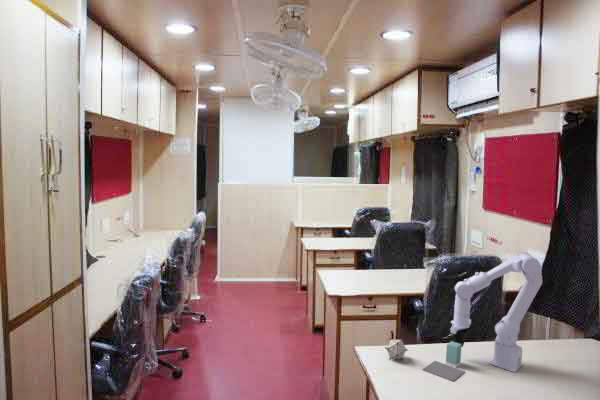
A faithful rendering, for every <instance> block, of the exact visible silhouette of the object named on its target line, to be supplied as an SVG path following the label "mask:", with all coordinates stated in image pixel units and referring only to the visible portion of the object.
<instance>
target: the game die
mask: <svg viewBox="0 0 600 400" xmlns="http://www.w3.org/2000/svg"><path fill="white" fill-rule="evenodd" d="M403 340H404V338H403V337H402V338H401V339H394V338H391V337H389V342H388V343H387V345H386V346H385V347H384V349H386V351H387V353H388V356H389V358H388V360H391V359H396V360H397V359H398V360H399V359H400V360H401V361H402V362H403V361H404V359H403V357H404V356H405V353H406V352H407V351H409V349H407V348H406V346H405V343H404V342H403Z"/></svg>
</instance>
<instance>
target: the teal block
mask: <svg viewBox="0 0 600 400" xmlns="http://www.w3.org/2000/svg"><path fill="white" fill-rule="evenodd" d="M461 345H462V344H459V343H456V341H453V340H451V341H450V342H448V343H447V344H446V354H445V364H446V365H449V366H451V367H454V368H457V367H458V366H460V365H461V361H462V360H461V358H462V347H461Z"/></svg>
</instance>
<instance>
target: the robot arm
mask: <svg viewBox="0 0 600 400" xmlns="http://www.w3.org/2000/svg"><path fill="white" fill-rule="evenodd" d="M542 270H543V267H542V265H541V263H540V261H539V260H538V259H537V258H535V257H533V256H532V254H530V253H528V252H524V251H523V252H520V253H518V254H516V255H513V256H512V257H510V258H509V259H507V260H506V261H503V262H502V263H500V264H499V265H497V266H495V267H494V268H491V269H490V270H488V271H486V272H485V271H480V272H478V271H476V272H475V273H474V275H472V276H470V277H469V278H465V279H463V281H458V282H457V283H456V284H455V286H454V288H453V289H454V291H455V296H454V298H455V300H454V309H453V319H452V320H451V321H450V324H451V327H450V329H449V330H450V332H449V333H451V334H453V336H454V342H456V343H459V344H462V345H461V348H463V346H464V345H465V341H466V339H467V336H468V334H469V333H470V331H471V329H470V326H471V324H472V319H471V318H470V315H471V298H472V297H473V295H474V294H475V293H478V292H479V291H481V290H483V289H485V288H487V287H488V286H490V285H491V283H492V281H493V280H495V279H497V278H498V279H499V278H500V277H502V276H504V275H506V274H508V273H510V272H514V273H520V274H521V273H522V275H523V277H524V278H525V281H524V283H523V284H522V287H521V288H520V290H519V292H518V294H517V296H516V298H515V300H514V301H513V303H512V305H511V306H510V308H509V311H508V312H507V314H506V315H505V316H502V317H501V320H499V322H497V323H496V324H495V326H494V332H495V335H496V338H495V339H494V349H493V350H494V351H493V359H492V360H491V361H489V365H491V366H492V365H493V366H495V367H496V368H497V367H498V368H500V369H504V370H506V371H510V372H513V373H516V372H517V371H518V370H519V369H520V368H521V367H522V365H523V364H522V361H523V360H522V359H523V347H522V346H520V345H518V344H517V342H518V339H519V338H518V336H519V334H520V329H521V322H522V320H523V319H524V317H525V315H526V313H527V311H528V309H529V308H530V306H531V304H532V302H533V300H534V299H535V297H536V295H537V293H538V292H539V290H540V288H541V286H542V285H543V275H542V273H543V271H542Z"/></svg>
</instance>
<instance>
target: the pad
mask: <svg viewBox="0 0 600 400" xmlns="http://www.w3.org/2000/svg"><path fill="white" fill-rule="evenodd" d="M422 371H424V372H426V373H430V374H431V375H434V376H437V377H440V378H442V379H445V380H448V381H450V382H454V381H456V380H457V379H459V378H460V377H461V376H462V375H464V374H465V373H466V370H462V369H460V368H457V367H456V368H455V367H452V366H450V365H447V364H446V363H443V362H439V361H437V360H433V361H432V362H431V363H430V364H428V365H426V366H425V367H424V368H422Z"/></svg>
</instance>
